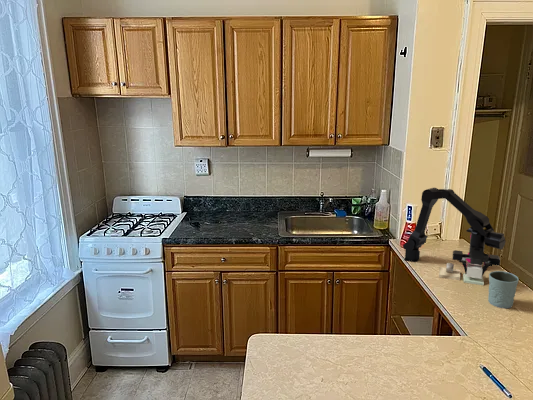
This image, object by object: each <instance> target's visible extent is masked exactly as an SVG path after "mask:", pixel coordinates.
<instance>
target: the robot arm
mask: <svg viewBox="0 0 533 400" xmlns="http://www.w3.org/2000/svg"><path fill="white" fill-rule="evenodd" d="M439 199H444V200H446V201H448V203H449V204H451V205H452V206H453V207H454V208H455V209H456V210H457V211H458V212H459V213H460V214H462V216H463V217H464V218H465V220H466V222H467V223H468V224H469V226H470V227H469V228H468V229H465V231H466V233H470V235H471V239H470V241H469V251H468V253H469V254H468V253H463V251H462V250H456V249H455V250H453V251H452V260H453V261H458V262H459V263H461V264H462V267H463V269H464V273H465V274H466V273H467V260H466V258H467V259H470V263H471V264H479V265H482V269H483V270H482V276H483V277H484V274H485V272H486V271H487V270H488V268H489V267H493V266H501V259H500V256H499V255H496V254H491V253H490V254H488V253H485V245H486V246H487V247H490V248H494V249H496V250H497V249H498V250H503V249H504V248H505V245H506V237H505V233H503V232H495V231H494V230H495V229H494V228H493V225H491V222H490V218H489V217H488V216H487V215H486V214H484V213H482V212H481V211H479V210H477V209H474V208H473V207H472V206H471V205H469V204H468V203H467V202H466V201H465V200H464V199H463V198H461V196H459V195H458V194H457V193H456V192H455V191H454V190H453V189H451V188H449V189H448V188H446V189H445V188H439V189H438V188H437V187H431V188H426V189H424V190H423V191H422V193H421V199H420V200H421V205H422V206H421V208H420V212H419V215H418V218H417V221H416V225H415V228H414V230H413V231H412V233H411V234H410V235H409V237H408V239H407V241H406V242H405V243H403V244H402V248H403V249H404V250H405V251H404V252H405V253H404V254H405V255H404V261H407V262H414V263H418V262H419V261H420V255H421V251H420V248H422V246H423V245H425V243H426V244H427V239H428V235H427V234H426V228H427V226H428V223H429V219H430V216H431V213H432V211H433V207H434V205H436V203H437V202H438V201H439Z"/></svg>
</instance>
